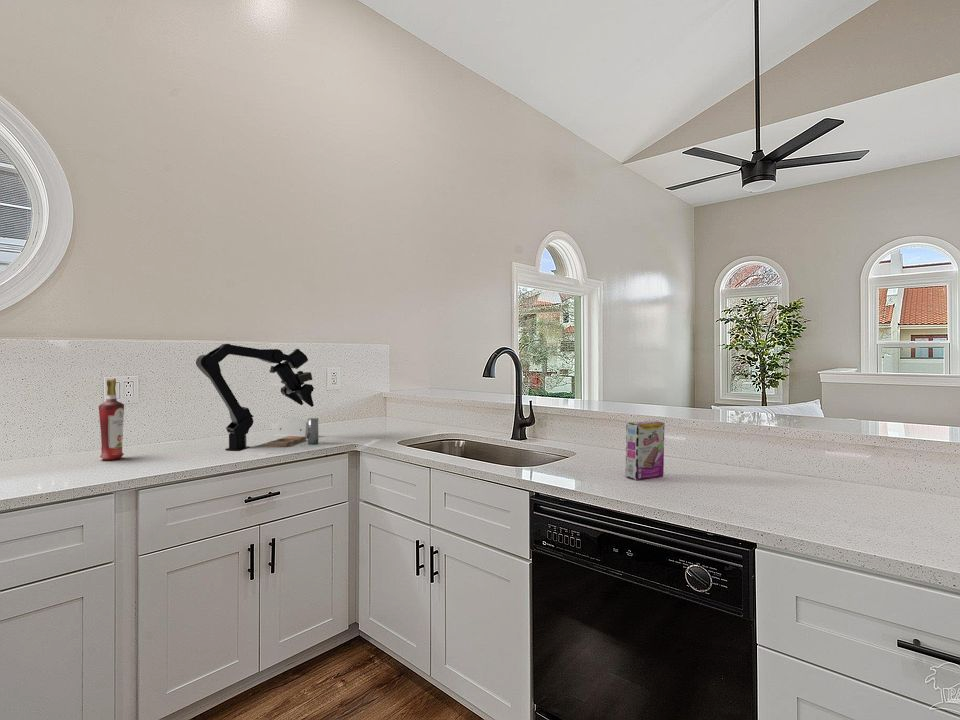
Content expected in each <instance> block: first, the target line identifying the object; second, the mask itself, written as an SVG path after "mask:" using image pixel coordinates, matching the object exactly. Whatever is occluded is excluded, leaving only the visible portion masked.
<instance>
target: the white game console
mask: <svg viewBox="0 0 960 720" xmlns="http://www.w3.org/2000/svg"><path fill="white" fill-rule="evenodd" d="M287 436H303V437H306V440H308V421H306V420H302V419H299V418H286V419H282V420H279V421H278V422H277V424H276V427H275V431H274V433H273V434H272V435H271V438H270V440H271V439H275V440H277V439H280V438H284V437H287Z"/></svg>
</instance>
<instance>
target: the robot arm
mask: <svg viewBox="0 0 960 720" xmlns="http://www.w3.org/2000/svg"><path fill="white" fill-rule="evenodd" d="M230 355H232V356H238V357H246V358H252V359H257V360H260V361H262V362H266V363H269V364H276V365H271V366H270V369H269V373H271V374H275V373H276V374H277V375H278V377H279V379H280V382H281V384H284V385H283V386H282V387H281V388H280V393H281V395H283V396H285V397H286V398H288V399H290V400H292V401H293V402H295V403H296V404H298V405H300V406H302V405H304V403H306V404H307V405H308V407H309V406H310V407H311V408H313V407H314V406H315V404H314V401H313V396H312V393H313V391H314V390H315V387H314V386H313V384H308V383H305V382H308V381H312V380H313V376H312V372H310V371H308V372H307V371H305V372H304V371H302V370H298V369H299V368H300V367H302V366H304V365H305V364H306V363H307V362H308V361H309V359H308V356H307V355H306V354H305V353H304V352H302V351H301V350H300V348H295V349H294V350H293V351H292V352H290V353H289V354H286V353H284V352H283V351H282V349H278V348H275V349H274V348H271V349H269V348H267V349H264V348H263V349H262V348H261V349H259V348H254V347H253V348H252V347H247V346H243V345H234V344H231V343H221V345H219V346H218V347H216V348H215V349H213V350H210V351H209V352H208V353H207V354H201V355H199V356H198V357H197V358H196V360H195V364H196V365H195V366H196V367H197V368H198V369H199V371H201V372H202V373H203V374H204V376H206V377H207V378H208V379H209V380H210V381H211V384H212V385H213V387H214V388H215V390H216V392H217V393H218V395H219V396H220V399H222V401H223V403H224V404H225V406H226V408H227V410H228V413H229V417H230V421H231V422H230V423H229V424H228V425H227V426H226V427H225V429H226V431H227V433H229V434H228V447H227V448H225V449H224V450H225V451H242V450H247V449H250V447H251V446H247V435H248V433H249V431H250V428H252V426H253V424H254V422H255V421H254V415H253V414H252V412H251V410H250V408H249V407H245V406H241V404H240V403H239V401H238V399H237V398H236V396H235V393H233V392H232V390H231V388H230V386H229V385H228V383H227V381H226V380H225V378H224V377H223V375H222V370H221V366H220V364H219V363H220V362H222V361H223V360H224V359H225V358H226V357H228V356H230ZM293 369H295V370H298V371H297V372H296V373H295V372H294V370H293Z"/></svg>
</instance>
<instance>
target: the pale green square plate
mask: <svg viewBox="0 0 960 720" xmlns="http://www.w3.org/2000/svg"><path fill="white" fill-rule="evenodd" d="M327 443H328V442H325V441H324V442H319V441H318V444H316V445H308V441H307V442H305V443H302V444H298V446H299V447H300V446H301V447H306V446H307V447H320V446H322V445H324V444H327Z"/></svg>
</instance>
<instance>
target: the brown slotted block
mask: <svg viewBox="0 0 960 720" xmlns="http://www.w3.org/2000/svg"><path fill="white" fill-rule="evenodd" d="M306 441H307V439H306V437H303V436H287V437H284V438H280V439H277V440H270V441H268V442H266V446H267V447H268V448H269V447H270V448H271V447H272V448H274V447H275V448H288V447H291V446H294V445H297V444H300V443H303V442H306Z"/></svg>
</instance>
